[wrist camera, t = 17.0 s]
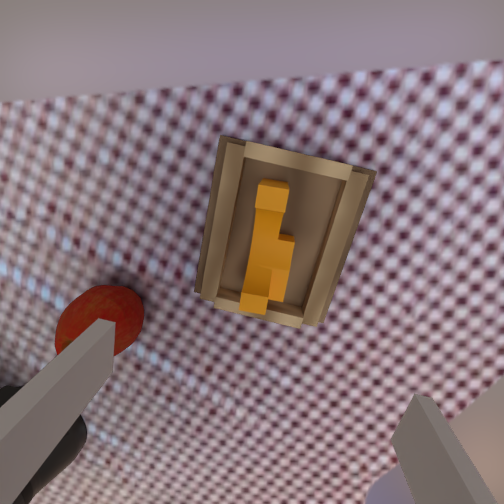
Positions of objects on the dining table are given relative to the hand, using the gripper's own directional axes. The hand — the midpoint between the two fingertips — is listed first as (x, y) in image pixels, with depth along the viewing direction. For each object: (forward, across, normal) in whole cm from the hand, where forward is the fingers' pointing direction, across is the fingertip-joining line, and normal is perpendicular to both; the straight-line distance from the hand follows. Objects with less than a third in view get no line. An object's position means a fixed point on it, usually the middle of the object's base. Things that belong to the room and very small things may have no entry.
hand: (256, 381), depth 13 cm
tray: (+22, 0, +1) cm, 22 cm away
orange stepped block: (+21, 0, +1) cm, 21 cm away
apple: (+22, -17, -13) cm, 30 cm away
